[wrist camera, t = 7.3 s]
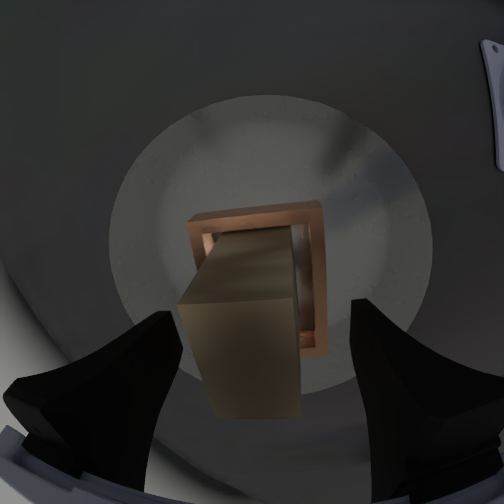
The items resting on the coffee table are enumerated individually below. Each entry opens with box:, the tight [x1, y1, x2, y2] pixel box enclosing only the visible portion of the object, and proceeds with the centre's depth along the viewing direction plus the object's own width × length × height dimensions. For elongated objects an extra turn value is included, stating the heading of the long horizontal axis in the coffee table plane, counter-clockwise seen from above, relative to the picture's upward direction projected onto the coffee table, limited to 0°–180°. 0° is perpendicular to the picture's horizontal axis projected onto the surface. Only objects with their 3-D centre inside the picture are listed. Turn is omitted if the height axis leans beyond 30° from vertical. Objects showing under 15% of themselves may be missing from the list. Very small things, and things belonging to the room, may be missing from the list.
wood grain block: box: [177, 225, 301, 419], centre depth 11 cm, size 3×5×7 cm, turn 8°
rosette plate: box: [109, 95, 433, 394], centre depth 15 cm, size 18×18×2 cm
